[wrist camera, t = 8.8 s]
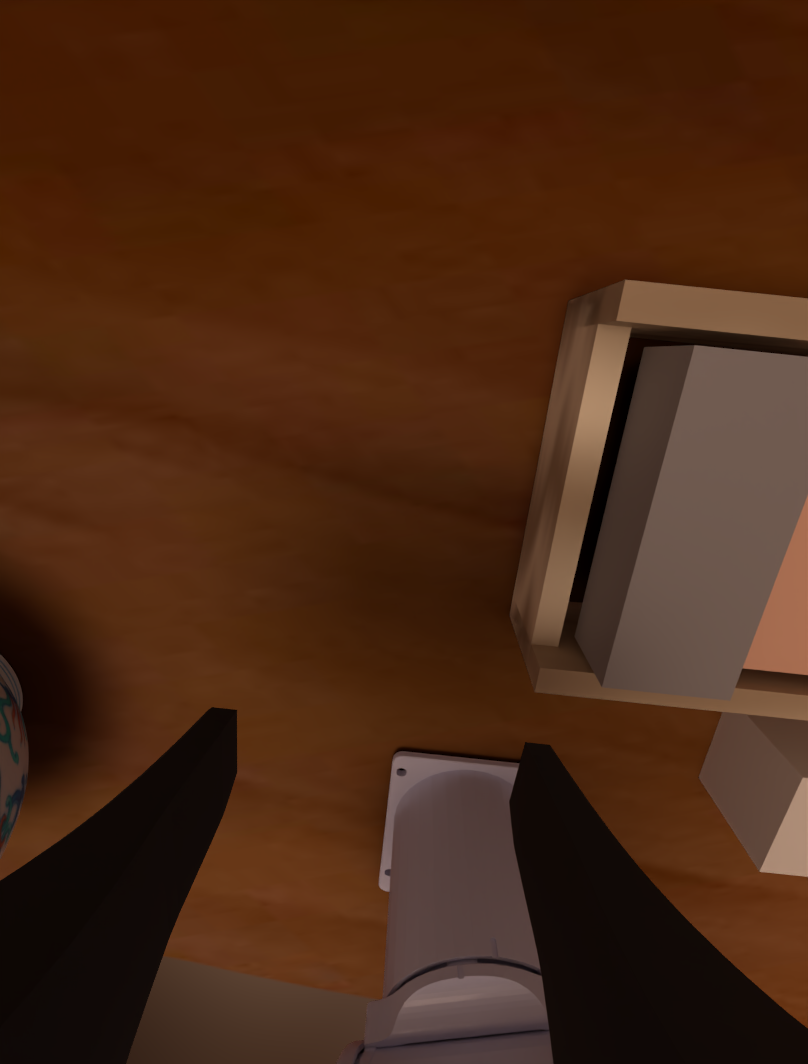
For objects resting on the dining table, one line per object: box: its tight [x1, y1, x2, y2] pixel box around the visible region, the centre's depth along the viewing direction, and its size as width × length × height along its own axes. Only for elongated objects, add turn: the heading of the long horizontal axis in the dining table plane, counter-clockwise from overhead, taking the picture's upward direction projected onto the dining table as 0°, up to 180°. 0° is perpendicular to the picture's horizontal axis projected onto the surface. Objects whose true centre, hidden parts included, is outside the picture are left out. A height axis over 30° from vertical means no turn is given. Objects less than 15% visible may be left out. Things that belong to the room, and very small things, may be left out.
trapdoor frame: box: [509, 280, 808, 721], centre depth 18 cm, size 13×16×6 cm
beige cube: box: [698, 712, 808, 877], centre depth 22 cm, size 5×5×5 cm
